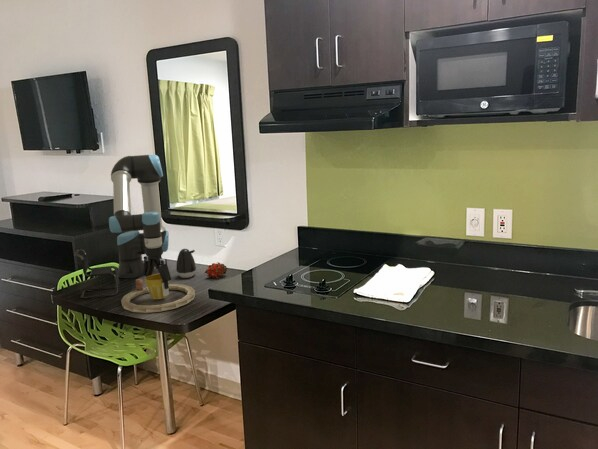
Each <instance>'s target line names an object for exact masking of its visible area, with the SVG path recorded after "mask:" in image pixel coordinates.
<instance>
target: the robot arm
mask: <svg viewBox="0 0 598 449" xmlns="http://www.w3.org/2000/svg"><path fill="white" fill-rule="evenodd" d="M162 177H163V178H164V173H163V169H162V164H161V160H160V157H159V156H158V155H157V154H143V155H141V154H140V155H127V156H124V157H122V158H120V159H119V160H117V161H116V163H115V164H114V165H113V166H112V169H111V172H110V181H111V182H112V183H113V184H112V186H113V187H112V190H113V193H112V194H113V195H112V196H113V215H112V216H110V217H109V218H108V226H109V230H110V233H112V234H115V233H116V234H117V233H118V234H119V233H120V234H119V235H118V236H117V237H116V242H117V243H116V244H117V251H118V261H119V264H118V266H117V267H118V268H117V270H118V277H119V278H120V279H135V278H140V277H142V276H143V277H145V278H146V277H147V276H150V275H153V272H154V270H155V269H156V270H157V271H158V274H160V276H161V278H162V281H163V282H162V290H163V296H166V295H167V296H169V295H170V293H169V292H170V290H169V289H168V288H169V285H168V284H169V283H168V281H169V282H170V281H171V280H172V276H171V273H170V269H169V267H168V262H167V258H163V257H162V256H163V254H164V253H166V252H168V249H169V240H170V239H169V230H166V227H165V226H164V225H163V222H162V221H163V220H162V209H161V201H160V200H161V199H160V191H159V190H160V189H159V183H160V182H161V178H162ZM133 179H136V180H137V183H138V184H140V188H141V195H142V197H141V198H142V205H143V213H139V214H137V213H136V214H132V209H131V206H132V203H131V189H130V182H132V180H133ZM140 231H143V232H142V233H141V232H140ZM143 255H145V256H143ZM142 256H143V257H142ZM154 268H155V269H154ZM148 293H150V292H149V289H148ZM167 296H166V297H167Z"/></svg>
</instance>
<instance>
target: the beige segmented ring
mask: <svg viewBox="0 0 598 449" xmlns="http://www.w3.org/2000/svg"><path fill="white" fill-rule="evenodd" d="M143 283H144V282H143V279H142V278H137V279H135V286H136V287H135V288H136V289H134V290H131V291H130V292H128V293H127V294H125V295H124V296H123V297H122V298H121V300H120V302H121V306H122V308H123V309H124V310H127V311H129V312H132V313H145V314H148V313H157V312H159V313H160V312H164V311H170V310H174V309H178V308H179V307H183V306H185V305H187V304H189V303H190V302H192V301H193V300H194V299H195V296H196V290H195V289H194V288H193V287H192V286H190V285H187V284H181V283H168V285H169V288H168V289H169V291H180V292H183V293H186V294H185V296H183V297H181V298H180V299H179V298H178V299H176V300H174V301H172V302H167V303H162V304H156V305H155V304H152V305H146V304H145V305H142V304H141V305H140V304H136V303H133V302H131V301H132V300H133V299H135V298H137V297H139V296H141V295H145V294H148V293H149V292H148V287H147V286H144V284H143Z"/></svg>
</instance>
